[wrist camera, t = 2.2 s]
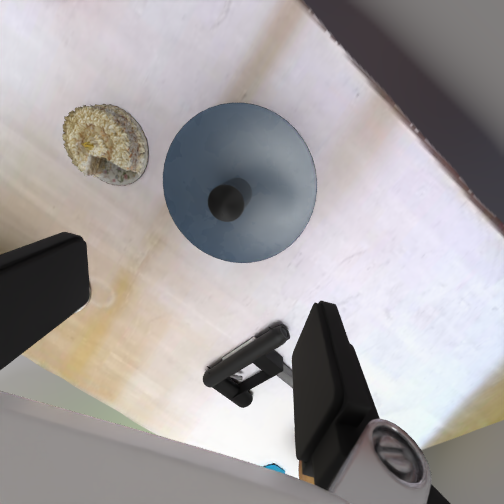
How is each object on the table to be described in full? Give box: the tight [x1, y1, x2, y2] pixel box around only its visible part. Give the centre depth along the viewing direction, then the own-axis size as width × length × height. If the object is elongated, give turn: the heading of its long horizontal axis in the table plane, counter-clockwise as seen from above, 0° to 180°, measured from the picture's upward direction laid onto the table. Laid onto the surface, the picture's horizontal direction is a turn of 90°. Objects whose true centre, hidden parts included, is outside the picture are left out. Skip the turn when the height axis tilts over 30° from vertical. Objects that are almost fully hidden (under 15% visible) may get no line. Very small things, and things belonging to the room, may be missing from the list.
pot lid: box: [163, 103, 317, 263], centre depth 20 cm, size 15×15×6 cm
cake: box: [62, 104, 148, 186], centre depth 29 cm, size 10×10×5 cm
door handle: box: [203, 325, 293, 408], centre depth 43 cm, size 3×20×16 cm
